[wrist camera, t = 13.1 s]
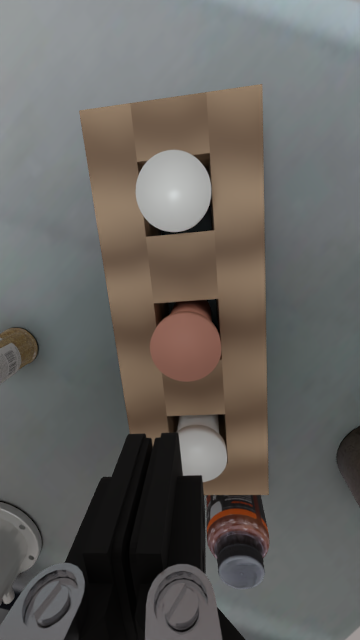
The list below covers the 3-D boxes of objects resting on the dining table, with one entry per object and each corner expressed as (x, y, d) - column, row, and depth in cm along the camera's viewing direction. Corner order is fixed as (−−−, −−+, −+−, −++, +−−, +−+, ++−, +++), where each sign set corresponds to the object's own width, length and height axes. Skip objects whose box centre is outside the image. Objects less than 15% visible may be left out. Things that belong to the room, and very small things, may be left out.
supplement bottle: (199, 460, 36) (196, 555, 26) (245, 446, 35) (263, 540, 24) (216, 497, 38) (221, 603, 27) (262, 485, 37) (286, 591, 26)
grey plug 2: (222, 412, 34) (228, 482, 24) (180, 414, 35) (170, 482, 25) (219, 374, 33) (225, 431, 23) (176, 376, 33) (164, 433, 24)
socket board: (254, 437, 35) (268, 494, 27) (153, 440, 36) (139, 495, 28) (245, 128, 26) (262, 84, 19) (114, 145, 28) (79, 110, 20)
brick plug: (217, 333, 30) (223, 380, 20) (170, 336, 30) (154, 383, 21) (214, 286, 29) (219, 312, 19) (165, 290, 29) (145, 317, 20)
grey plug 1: (211, 230, 29) (213, 228, 19) (161, 235, 29) (140, 235, 20) (207, 176, 28) (208, 145, 18) (156, 182, 28) (130, 154, 18)
